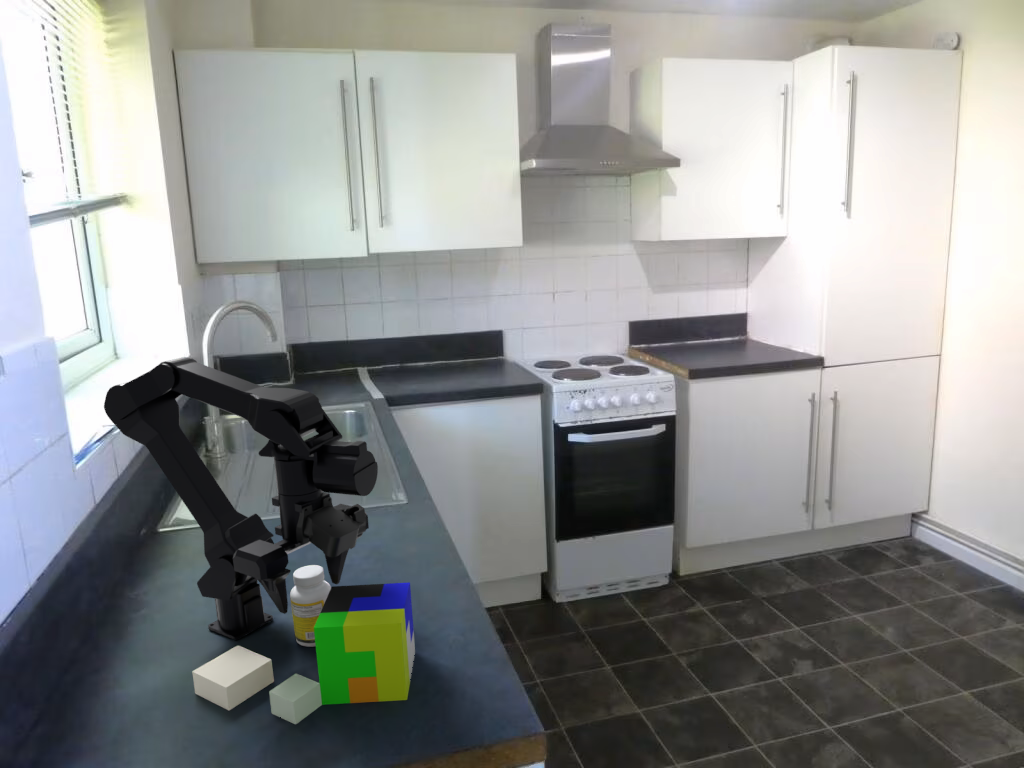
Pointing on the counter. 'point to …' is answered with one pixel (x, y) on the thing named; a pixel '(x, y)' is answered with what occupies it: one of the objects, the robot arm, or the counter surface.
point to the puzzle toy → (365, 643)
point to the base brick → (233, 677)
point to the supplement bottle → (308, 602)
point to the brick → (295, 698)
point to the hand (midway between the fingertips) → (310, 597)
